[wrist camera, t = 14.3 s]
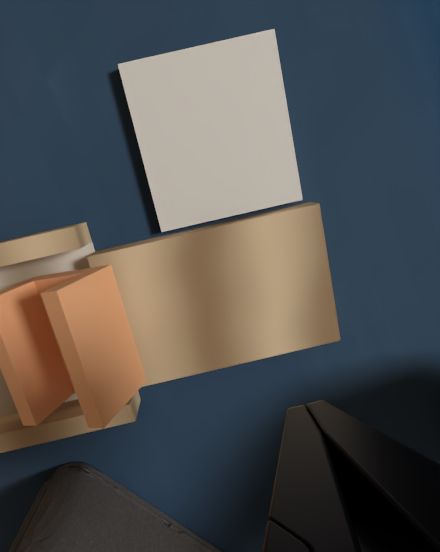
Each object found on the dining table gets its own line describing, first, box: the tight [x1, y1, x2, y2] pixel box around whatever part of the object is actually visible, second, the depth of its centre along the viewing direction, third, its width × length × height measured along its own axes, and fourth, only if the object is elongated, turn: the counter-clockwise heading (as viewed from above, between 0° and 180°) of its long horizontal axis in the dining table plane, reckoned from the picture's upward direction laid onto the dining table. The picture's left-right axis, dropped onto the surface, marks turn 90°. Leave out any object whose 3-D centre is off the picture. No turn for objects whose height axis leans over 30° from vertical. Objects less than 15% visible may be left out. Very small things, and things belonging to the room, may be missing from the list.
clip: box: [0, 265, 146, 428], centre depth 17 cm, size 4×6×4 cm
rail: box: [0, 202, 340, 453], centre depth 19 cm, size 21×10×2 cm, turn 103°
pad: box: [118, 29, 303, 232], centre depth 18 cm, size 7×8×1 cm
